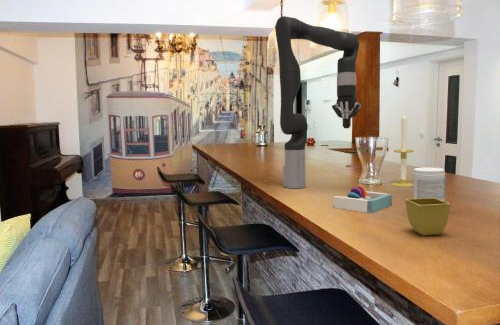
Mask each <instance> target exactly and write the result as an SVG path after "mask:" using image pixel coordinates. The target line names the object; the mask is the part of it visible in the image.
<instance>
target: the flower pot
mask: <svg viewBox="0 0 500 325" xmlns="http://www.w3.org/2000/svg"><path fill="white" fill-rule="evenodd" d="M405 206H406V214H407V219H408V222H409V224H410V226H411V227H412V229H413V231H414V232H416V233H418V234H419V235H422V236H431V235H437V236H438V235H440V234H441V233H442V232H443V231H444V230H445V229H446V226H447V224H448V221H449V215H450V208H451V203H449V202H447V201H445V202H444V201H441V200H439V199H436V198H420V199H413V198H405Z"/></svg>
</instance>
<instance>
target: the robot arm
mask: <svg viewBox="0 0 500 325" xmlns="http://www.w3.org/2000/svg"><path fill="white" fill-rule="evenodd" d="M274 31H275V37H276V44H277V50H278V51H277V53H278V66H279V67H278V68H279V85H280V112H279V113H280V114H279V117H280V118H279V122H280V123H279V124H280V130H281V132H282V133H283V134H285V135H286V136H287V135H288V136H290V135H291V136H290V139H289V140H288V141H286V142H285V143H284V165H283V166H282V171H283V174H282V176H283V178H282V179H283V181H282V182H283V187H285V188H286V189H287V188H288V189H302V188H303V189H304V188H305V187H307V185H306V182H307V181H306V180H307V179H306V144H307V142H308V140H307V139H308V122H307V117H305V115H304V114H302V113H294V108H295V107H294V106H295V100H296V96H297V94H298V92H299V90H300V88H301V82H302V81H301V80H302V79H301V77H302V76H301V67H300V63H299V62H298V60H297V58H296V56H295V53H294V51H293V48H292V40H306V41H310V42H312V43H314V44H316V45H319V46H324V47H327V48H330V49H331V48H332V49H334V50H337V51H341V52H343V54H342V57H340V58H338V60H337V62H336V64H337V66H336V67H337V70H336V72H337V73H336V74H337V75H336V76H337V77H336V97H337V100H336V103H335V104H332V106H331V109H332V110H333V111H334V113H335V114H336V116H337V117H338V118H340V119H341V120H342V127H343V129H350V127H351V124H352V123H351V120H352V118H355V117H356V116H357V115H358V113H359V111H360V110H361V109H362V107H363V105H362V104H360V102H358V99H357V75H356V73H357V72H356V66H357V65H356V61H357V58H358V53H359V49H360V40H359V37H358V36H357V34H356V33H352V32H345V31H339V30H335V29H332V28H329V27H323V26H320V25H319V26H318V25H317V26H316V25H311V24H308V23H305V22H304V21H302V20H299V19H298V18H296V17H291V16H285V15H283V16H280V17H278V19H277V21H276V23H275V30H274Z"/></svg>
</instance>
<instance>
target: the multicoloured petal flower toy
mask: <svg viewBox="0 0 500 325" xmlns="http://www.w3.org/2000/svg"><path fill="white" fill-rule="evenodd" d="M345 197H348V198H356V199H364V200H372V199H371V197H369V196H367V192H365V188H364V187H362V186H355V187H352V188H351V189H350V191H349V192H348V193H347V195H346V196H345Z"/></svg>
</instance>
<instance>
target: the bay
mask: <svg viewBox="0 0 500 325" xmlns="http://www.w3.org/2000/svg"><path fill="white" fill-rule="evenodd" d="M364 191H365V190H364ZM365 192H367V196H369V197H371V199H372V200H364V199H356V198H348V197H346V196H341V195H334V196H333V208H334V209H340V210H347V211H354V212H359V213H368V214H374V213H376V212H378V211H381V210H384V209H385V208H389V207H390V206H392V204H393V203H392V202H393V194H392V193H386V192H385V193H383V192H375V191H368V190H367V191H365Z"/></svg>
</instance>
